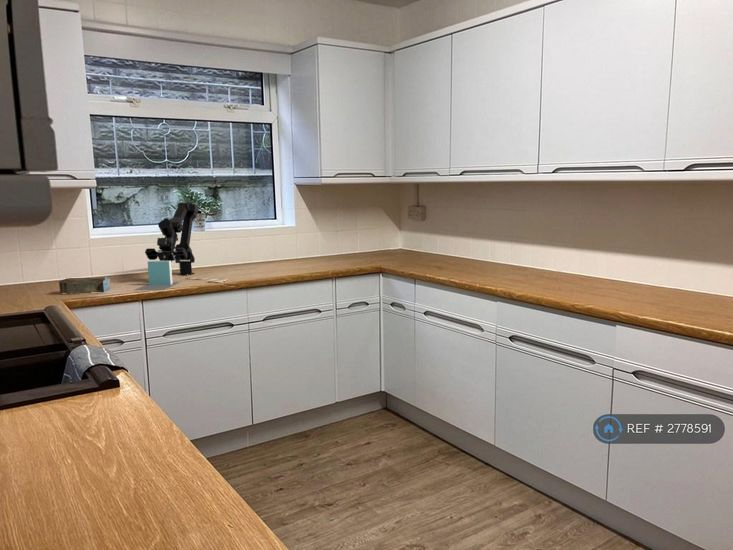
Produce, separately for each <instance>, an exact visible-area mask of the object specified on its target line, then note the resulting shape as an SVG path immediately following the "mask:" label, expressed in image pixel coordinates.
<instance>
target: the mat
mask: <svg viewBox="0 0 733 550" xmlns="http://www.w3.org/2000/svg"><path fill="white" fill-rule="evenodd" d="M172 283H173V284H172V285H149V283H148V284H145V285H142V286H140V287H137V288H135V289H134V291H165V290H168V289H170V288H172V287H174V286H176V285H177V284H179V283H181V282H180V281H179V282H178V281H177V282H176V281H175V282H173V281H172Z"/></svg>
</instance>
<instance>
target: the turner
mask: <svg viewBox="0 0 733 550" xmlns="http://www.w3.org/2000/svg"><path fill="white" fill-rule="evenodd" d="M186 279H187V280H188V281H205V282H206V283H211V282H219V283H218V284H221V283H224V282H223V281H225V282H227V281H226V280H228V281H229V279H227V278H225V279H224V278H206V277H205V278H203V277H185V280H186ZM220 282H221V283H220Z"/></svg>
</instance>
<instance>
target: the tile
mask: <svg viewBox="0 0 733 550" xmlns="http://www.w3.org/2000/svg"><path fill="white" fill-rule="evenodd" d="M172 269H173V268H172V262H171V261H160V260H149V261H147V274H148V284H149V285H172V284H173V283H172V282H173V271H172Z"/></svg>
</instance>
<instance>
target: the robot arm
mask: <svg viewBox="0 0 733 550" xmlns="http://www.w3.org/2000/svg"><path fill="white" fill-rule="evenodd" d="M198 213H199V207H198V206H197V205H196V204H195V203H193V204H192V203H189V202H179V203H178V204H177V208H176V210H175V212H174V215H173V216H172V217H171V218H168V217H166V218H165V217H164V218H163V219H162V220H161V221H159V223H158V224H157V225H158V228H159V230H160V232H161V234H162V235H163V236H164V237H157V241H156V245H157V246H158V250H156V249H155V248H151V247H150V248H146V249H145V251H144V253H145V255H146V257H147V259H148V260H149V261H157V259H158V261H171V263H172V262H173V261H174V262H175V264H179V266H178V268H179V272H178V273H177V275H179V274H181V275H180V276H188V275H187V274H190V275H195V272H193V271H192V263H193V264H194V263H195V261H196V259H195V256H194V254H193V252H192V251H193V250H192V248H191V246H190V243H191V236H192V235H191V234H192V228H193V222H194V220H195V219H196V218H197V216H198ZM180 233H181V235H180V241H179V237H178V234H180ZM178 241H179V244H177V242H178Z"/></svg>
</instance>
